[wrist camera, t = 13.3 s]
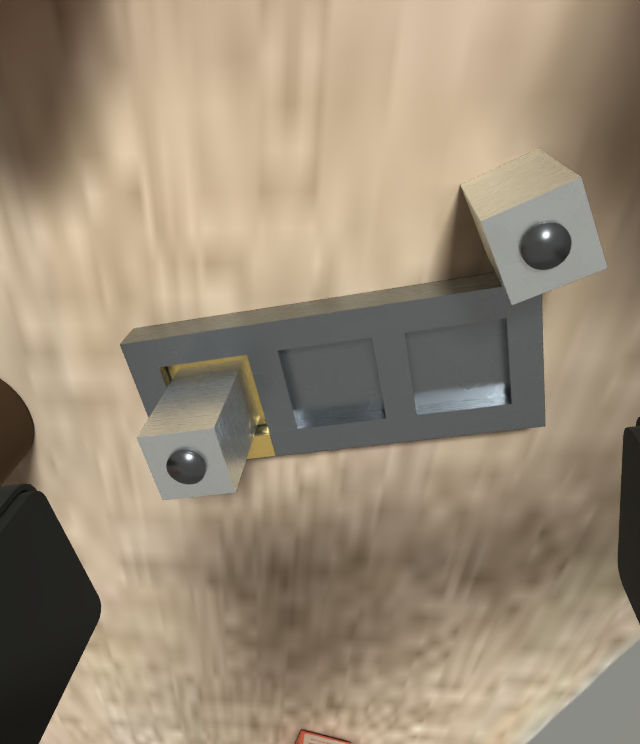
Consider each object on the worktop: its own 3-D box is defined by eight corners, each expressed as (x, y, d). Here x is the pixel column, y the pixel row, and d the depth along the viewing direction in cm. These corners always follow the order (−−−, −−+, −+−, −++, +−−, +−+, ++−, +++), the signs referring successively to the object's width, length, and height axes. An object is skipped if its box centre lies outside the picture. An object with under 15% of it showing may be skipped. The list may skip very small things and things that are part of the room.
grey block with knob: (243, 359, 39) (212, 431, 32) (260, 416, 41) (234, 496, 34) (179, 368, 40) (134, 440, 33) (198, 424, 42) (161, 503, 35)
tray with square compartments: (531, 266, 36) (541, 281, 34) (537, 406, 41) (545, 427, 38) (133, 328, 40) (119, 345, 38) (178, 448, 45) (168, 468, 43)
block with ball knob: (538, 148, 33) (583, 178, 26) (561, 222, 35) (609, 270, 27) (460, 184, 34) (481, 222, 27) (486, 253, 36) (513, 307, 29)
